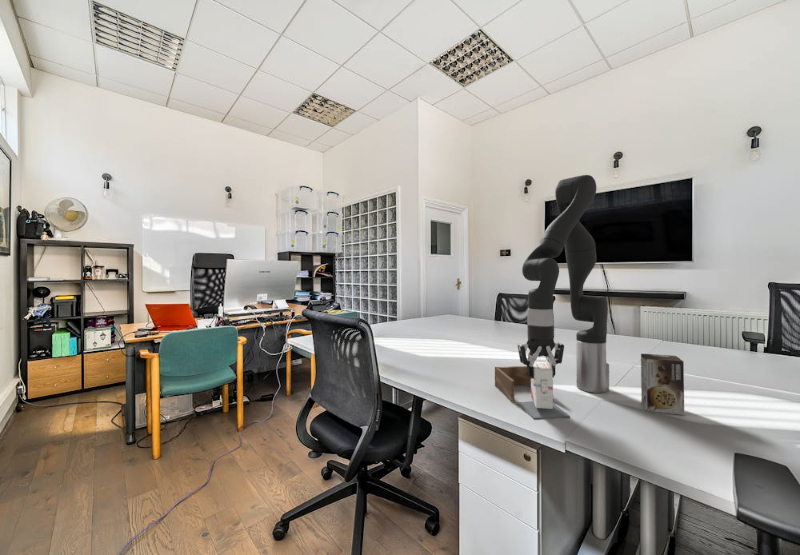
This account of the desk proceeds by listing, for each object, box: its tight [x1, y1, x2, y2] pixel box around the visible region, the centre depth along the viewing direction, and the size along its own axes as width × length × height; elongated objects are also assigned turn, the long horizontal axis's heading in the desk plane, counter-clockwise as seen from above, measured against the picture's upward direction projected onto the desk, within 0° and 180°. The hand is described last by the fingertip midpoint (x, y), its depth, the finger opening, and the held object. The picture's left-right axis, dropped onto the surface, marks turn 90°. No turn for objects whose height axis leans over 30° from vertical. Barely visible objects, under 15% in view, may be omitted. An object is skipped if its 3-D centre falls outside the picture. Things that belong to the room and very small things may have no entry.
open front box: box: [494, 365, 531, 403], centre depth 112 cm, size 14×15×7 cm
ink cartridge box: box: [530, 356, 554, 409], centre depth 98 cm, size 9×5×15 cm, turn 168°
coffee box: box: [640, 353, 685, 416], centre depth 97 cm, size 9×6×16 cm
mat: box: [516, 400, 571, 420], centre depth 98 cm, size 11×11×1 cm
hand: (540, 377), depth 98 cm, fingers closed on ink cartridge box, 5 cm apart
